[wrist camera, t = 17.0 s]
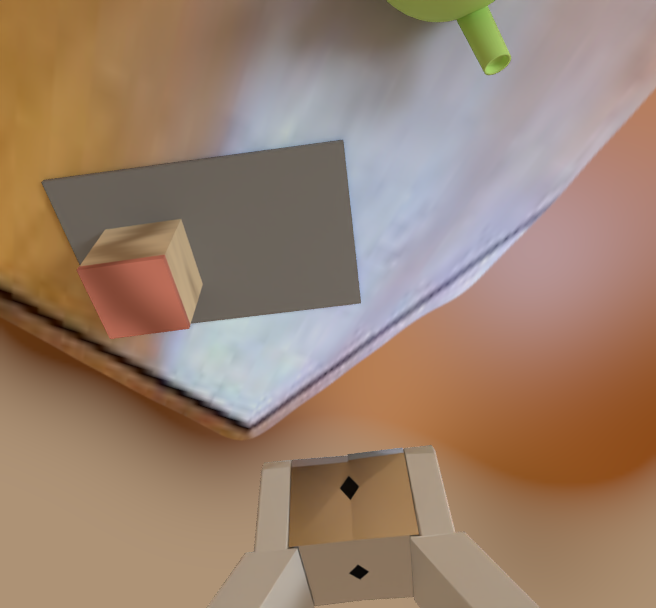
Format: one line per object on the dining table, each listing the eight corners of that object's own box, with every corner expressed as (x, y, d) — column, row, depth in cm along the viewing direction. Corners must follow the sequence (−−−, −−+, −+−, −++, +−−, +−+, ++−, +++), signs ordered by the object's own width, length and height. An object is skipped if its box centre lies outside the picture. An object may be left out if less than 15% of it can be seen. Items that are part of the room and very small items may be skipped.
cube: (76, 270, 35) (105, 229, 40) (109, 338, 39) (132, 293, 44) (163, 258, 35) (181, 218, 40) (189, 328, 38) (202, 284, 43)
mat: (343, 139, 37) (343, 141, 37) (360, 300, 45) (360, 303, 45) (43, 180, 38) (41, 182, 38) (112, 330, 46) (111, 332, 46)
